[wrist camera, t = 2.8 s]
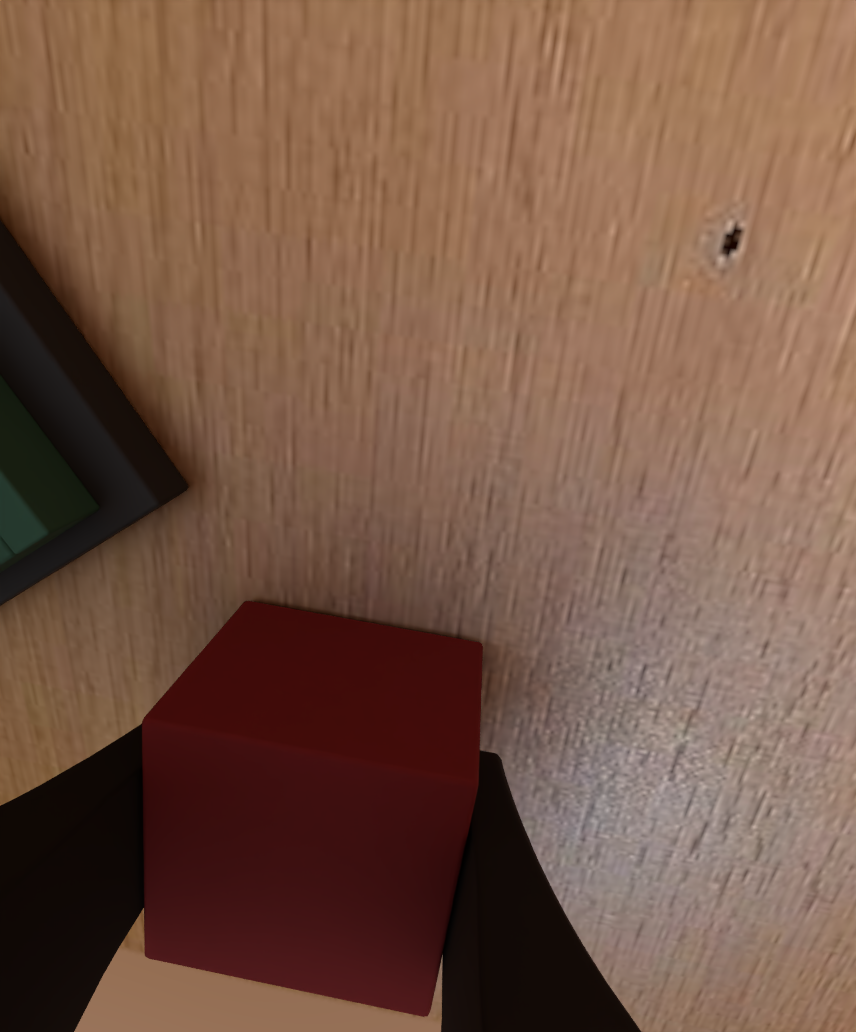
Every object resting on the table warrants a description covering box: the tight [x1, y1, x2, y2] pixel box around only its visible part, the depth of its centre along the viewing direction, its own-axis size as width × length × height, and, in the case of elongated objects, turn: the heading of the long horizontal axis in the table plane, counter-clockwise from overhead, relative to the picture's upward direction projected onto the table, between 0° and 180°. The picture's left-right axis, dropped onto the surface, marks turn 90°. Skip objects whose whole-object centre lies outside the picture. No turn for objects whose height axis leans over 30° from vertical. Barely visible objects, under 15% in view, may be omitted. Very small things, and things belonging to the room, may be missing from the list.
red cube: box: [142, 601, 483, 1017], centre depth 11 cm, size 5×5×4 cm
